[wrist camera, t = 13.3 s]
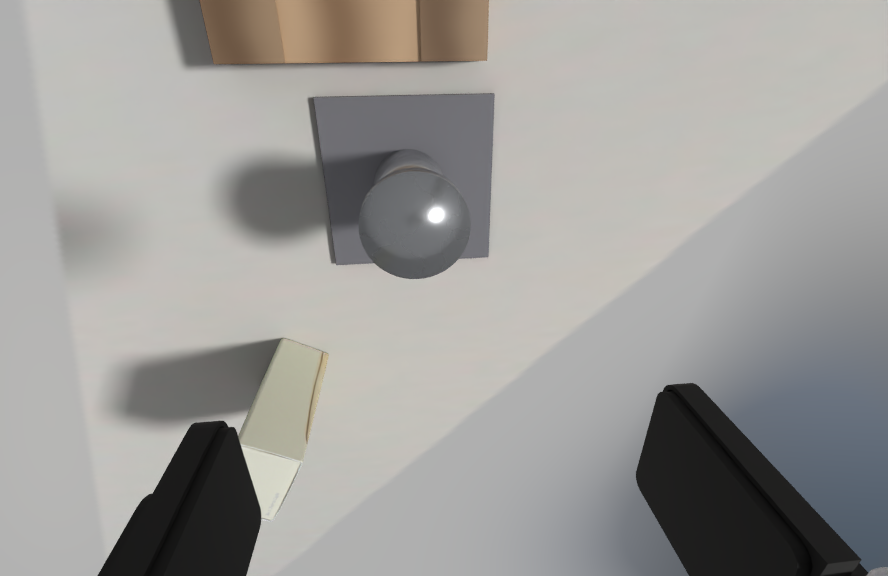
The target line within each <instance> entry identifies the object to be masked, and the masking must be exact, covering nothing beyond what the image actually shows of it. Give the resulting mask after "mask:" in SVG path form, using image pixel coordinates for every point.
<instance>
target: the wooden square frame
mask: <svg viewBox="0 0 888 576" xmlns="http://www.w3.org/2000/svg"><path fill="white" fill-rule="evenodd" d="M199 1H200V5H201V9H202V14H203V18H204V23H205V27H206V32H207V36H208V40H209V45H210V49H211V54H212V58H213V63H214V64H268V63H343V62H419V61H487V47H488V13H489V0H199Z"/></svg>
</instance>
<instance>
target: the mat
mask: <svg viewBox="0 0 888 576" xmlns="http://www.w3.org/2000/svg"><path fill="white" fill-rule="evenodd" d="M313 98H314V105H315V112H316V120H317V127H318V134H319V142H320V149H321V156H322V164H323V171H324V178H325V186H326V193H327V200H328V207H329V215H330V222H331V229H332V237H333V244H334V251H335V259H336V265H349V264H368V263H374V262H373V261H372V260H371V259H370V258H369V256H368V255H367V253H366V252H365V250H364V248H363V246H362V243H361V240H360V236H359V226H358V224H359V215H360V211H361V207H362V203H363V201H364V198H365V196H366V195H367V193H368V191H369V190H370V189H371V187H372V186H373V185H374V181H375V175H376V172H377V169H378V167H379V165H380V164H381V162H382V161H383V160H384V159H385V158H386V157H387V156H389V155H390V154H392V153H394V152H396V151H399V150H403V149H414V150H418V151H421V152H424V153H426V154H427V155H429V156H430V157H431V158H432V159H434V161H435V162H436V163H437V164H438V166H439V168H440V170H441V172H442V174H443V176H444V177H446V178H447V179H448V180H450V181H451V182H452V183H453V184H454V185H455V186H456V187H457V189H458V190H459V192H460V193H461V195H462V197H463V198H464V200H465V202H466V204H467V207H468V210H469V213H470V219H471V231H470V236H469V240H468V243H467V246H466V248H465V250H464V252H463V253H462V255H461V256H460V257H459V259H462V258H481V257H488V253H489V226H490V200H491V173H492V147H493V120H494V93H490V94H439V95H389V96H339V97H313Z"/></svg>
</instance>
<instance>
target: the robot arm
mask: <svg viewBox="0 0 888 576" xmlns="http://www.w3.org/2000/svg"><path fill="white" fill-rule="evenodd" d="M636 480H637V484H638V487H639V489H640V491H641V493H642V494H643V496H644V498H645V500H646V501H647V503H648V505H649V507H650V508H651V510H652V512H653V514H654V515H655V517H656V519H657V520H658V522H659V524H660V526H661V528H662V529H663V531H664V533H665V534H666V536H667V538H668V540H669V541H670V543H671V545H672V547H673V548H674V550H675V552H676V554H677V555H678V557H679V559H680V561H681V562H682V564H683V566H684V568H685V569H686V571H687V573H688V574H689V576H888V568H885V567H882V568H877V569H873V570H871V571H870V572H869V573H868V572H867V571H866V570H865V569H864V568H863V567H862V566H861V564H860V563H859V562H860V561H861V559H860V558H859V557H858V556H857V555H856V554H855V552H854V551H853V550H852V549H851V548H850V547H849V546H848V545H847V544H846V543H845V542H844V541H843V540H842V539H841V538H840V536H839V535H838V534H836V532H835V531H834V530H833V529H832V528H831V527H830V526H829V525H828V524H827V523H826V522H825V520H823V518H822V517H821V516H820V515H819V514H818V513H817V512H816V511H815V510H814V509H813V508H812V507H811V506H810V505H809V503H808V502H807V501H805V499H804V498H803V497H802V496H801V495H800V494H799V493H798V492H797V491H796V490H795V488H794V487H793V486H792V485H791V484H790V483H789V482H788V481H787V480H786V479H785V478H784V477H783V476H782V475H781V474H780V472H779V471H778V470H777V469H776V468H775V467H774V466H773V465H772V464H771V463H770V462H769V461H768V460H767V459H766V458H765V456H763V454H762V453H761V452H760V451H759V450H758V449H757V448H756V447H755V446H754V445H753V444H752V443H751V442H750V440H749V439H748V438H747V437H746V436H745V435H744V434H743V433H742V432H741V431H740V430H739V429H738V428H737V427H736V426H735V424H734V423H733V422H732V421H731V420H730V419H729V418H728V417H727V416H726V415H725V414H724V413H723V412H722V411H721V410H720V408H719V407H718V406H717V405H716V404H715V403H714V402H713V401H712V400H711V399H710V398H709V397H708V396H707V395H706V394H705V393H704V391H703V390H702V389H701V388H700V387H699V386H697V385H696V384H693V383H687V384H674V385H667V386H666V387H665V388H664V390H663V392H660V393H659V394H658V396H657V398H656V402H655V406H654V409H653V413H652V416H651V421H650V424H649V428H648V431H647V435H646V438H645V442H644V446H643V450H642V453H641V456H640V460H639V464H638V467H637V471H636ZM260 525H261V508H260V505H259V502H258V498H257V495H256V492H255V489H254V486H253V483H252V479H251V476H250V473H249V470H248V467H247V463H246V460H245V457H244V454H243V451H242V448H241V444H240V441H239V438H238V435H237V432H236V429H235V428H234V427H228V426H227V424H226V422H224V421H213V422H201V423H194V424H192V425H191V427H190V428H189V429H188V431H187V433H186V435H185V436H184V438H183V440H182V442H181V444H180V445H179V447H178V449H177V451H176V453H175V454H174V456H173V458H172V460H171V462H170V463H169V465H168V467H167V469H166V471H165V472H164V474H163V476H162V478H161V480H160V481H159V483H158V485H157V487H156V489H155V490H154V492H153V494H149V495H147V496H146V497H145V498H144V499H143V500H142V501H141V502H140V504H139V505H138V507H137V508H136V510H135V512H134V513H133V515H132V517H131V519H130V520H129V522H128V524H127V526H126V527H125V529H124V531H123V532H122V534H121V536H120V538H119V539H118V541H117V543H116V545H115V546H114V548H113V550H112V552H111V553H110V555H109V557H108V559H107V560H106V562H105V564H104V566H103V567H102V569H101V571H100V572H99V574H98V576H246V574H247V571H248V567H249V564H250V560H251V557H252V553H253V550H254V546H255V543H256V539H257V536H258V532H259V529H260Z"/></svg>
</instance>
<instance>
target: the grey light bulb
mask: <svg viewBox="0 0 888 576" xmlns="http://www.w3.org/2000/svg"><path fill="white" fill-rule="evenodd" d="M358 226H359V236H360V240H361V243H362V246H363V248H364V250H365V252H366V253H367V255H368V256H369V258H370V259H371V260H372V261H373V262H374V263H375V264H376V265H377V266H378V267H380V268H381V269H383V270H384V271H386V272H388V273H390V274H392V275H395V276H398V277H402V278H408V279H421V278H427V277H431V276H434V275H437V274H439V273H441V272H443V271H445V270H446V269H448V268H449V267H450V266H452V265H453V264H454V263H455V262H456V261H457V260H458V259H459V257H460V256H461V255H462V253H463V252H464V250H465V248H466V246H467V243H468V240H469V236H470V231H471V219H470V213H469V210H468V207H467V204H466V202H465V200H464V198H463V197H462V195H461V193H460V192H459V190H458V189H457V187H456V186H455V185H454V184H453V183H452V182H451V181H450V180H448V179H447V178H446V177H444V176H443V174H442V172H441V170H440V168H439V166H438V164H437V163H436V162H435V161H434V159H432V158H431V157H430V156H429V155H427V154H426V153H424V152H421V151H418V150H414V149H403V150H399V151H396V152H394V153H392V154H390V155H389V156H387V157H386V158H385V159H384V160H383V161H382V162H381V164H380V165H379V167H378V169H377V172H376V175H375V181H374V185H373V186H372V187H371V189H370V190H369V191H368V193H367V195H366V196H365V198H364V201H363V203H362V207H361V211H360V215H359V224H358Z"/></svg>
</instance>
